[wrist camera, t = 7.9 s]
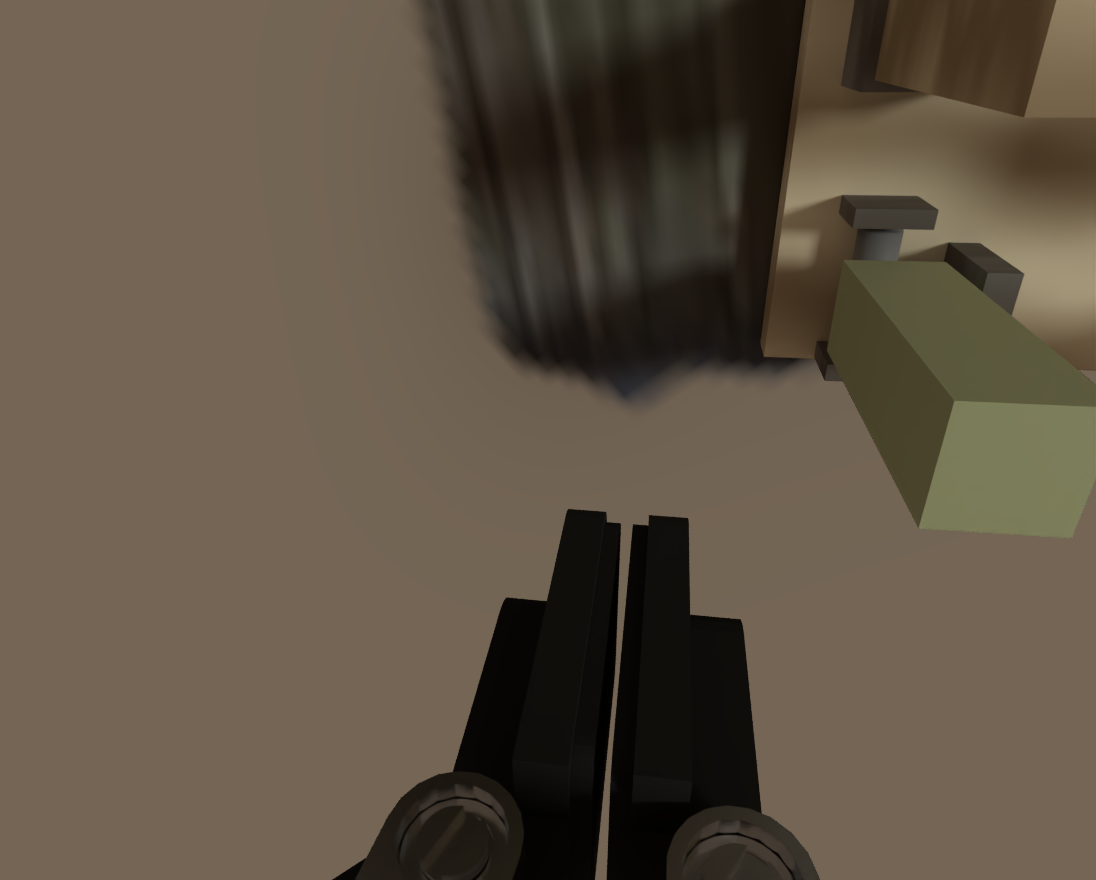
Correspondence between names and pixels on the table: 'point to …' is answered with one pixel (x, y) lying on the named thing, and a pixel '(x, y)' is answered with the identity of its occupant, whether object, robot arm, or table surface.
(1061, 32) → the stool seat
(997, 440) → the hinged leg
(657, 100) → the table surface
